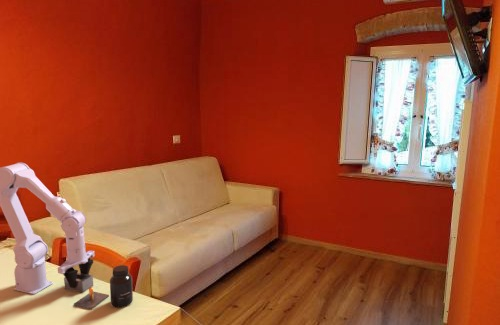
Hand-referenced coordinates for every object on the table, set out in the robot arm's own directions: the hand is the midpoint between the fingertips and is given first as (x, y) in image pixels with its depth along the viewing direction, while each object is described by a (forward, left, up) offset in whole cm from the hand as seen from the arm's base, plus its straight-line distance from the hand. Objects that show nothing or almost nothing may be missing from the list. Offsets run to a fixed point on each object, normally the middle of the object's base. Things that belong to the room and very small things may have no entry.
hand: (78, 283), depth 123 cm
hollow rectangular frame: (0, 0, -1) cm, 1 cm away
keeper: (+11, -5, -1) cm, 12 cm away
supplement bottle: (+21, -3, -2) cm, 21 cm away
